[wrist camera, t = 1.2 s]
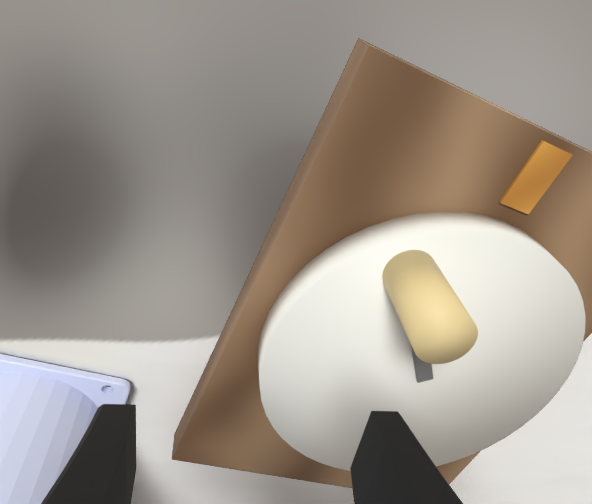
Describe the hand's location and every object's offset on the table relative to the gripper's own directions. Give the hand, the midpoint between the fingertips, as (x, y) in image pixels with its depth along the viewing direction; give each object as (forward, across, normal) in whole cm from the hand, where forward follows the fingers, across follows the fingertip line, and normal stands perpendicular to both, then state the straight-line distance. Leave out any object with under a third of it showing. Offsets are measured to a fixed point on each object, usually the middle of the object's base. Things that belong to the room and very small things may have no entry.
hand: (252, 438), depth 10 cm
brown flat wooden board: (+10, -8, +5) cm, 14 cm away
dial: (+9, -8, +5) cm, 13 cm away
